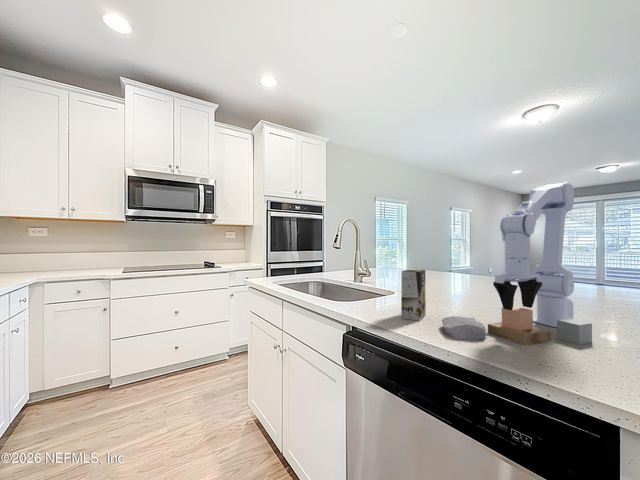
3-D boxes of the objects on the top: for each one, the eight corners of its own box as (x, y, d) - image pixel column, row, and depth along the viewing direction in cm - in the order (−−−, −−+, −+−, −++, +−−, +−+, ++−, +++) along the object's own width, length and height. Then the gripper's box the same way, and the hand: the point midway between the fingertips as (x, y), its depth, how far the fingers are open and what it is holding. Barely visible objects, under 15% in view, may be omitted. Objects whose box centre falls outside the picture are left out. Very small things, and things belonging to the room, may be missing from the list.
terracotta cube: (514, 323, 80) (514, 306, 80) (532, 328, 75) (532, 310, 75) (501, 325, 78) (501, 307, 78) (519, 330, 73) (519, 311, 73)
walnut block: (513, 330, 82) (513, 320, 82) (550, 342, 73) (550, 330, 73) (487, 334, 79) (487, 323, 79) (523, 346, 70) (523, 334, 70)
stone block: (450, 345, 75) (490, 340, 73) (446, 327, 75) (486, 322, 73) (440, 333, 86) (474, 328, 85) (436, 317, 87) (470, 312, 85)
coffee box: (420, 321, 91) (420, 271, 91) (400, 318, 94) (400, 270, 94) (426, 315, 98) (426, 269, 98) (407, 312, 102) (407, 268, 102)
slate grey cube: (569, 336, 76) (569, 318, 76) (592, 342, 72) (591, 323, 72) (557, 338, 75) (556, 319, 75) (579, 345, 70) (579, 325, 70)
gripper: (521, 257, 82) (521, 303, 82) (484, 258, 78) (484, 306, 78) (547, 258, 76) (547, 308, 76) (509, 259, 71) (509, 313, 71)
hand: (517, 308), depth 76 cm, fingers open, 7 cm apart
